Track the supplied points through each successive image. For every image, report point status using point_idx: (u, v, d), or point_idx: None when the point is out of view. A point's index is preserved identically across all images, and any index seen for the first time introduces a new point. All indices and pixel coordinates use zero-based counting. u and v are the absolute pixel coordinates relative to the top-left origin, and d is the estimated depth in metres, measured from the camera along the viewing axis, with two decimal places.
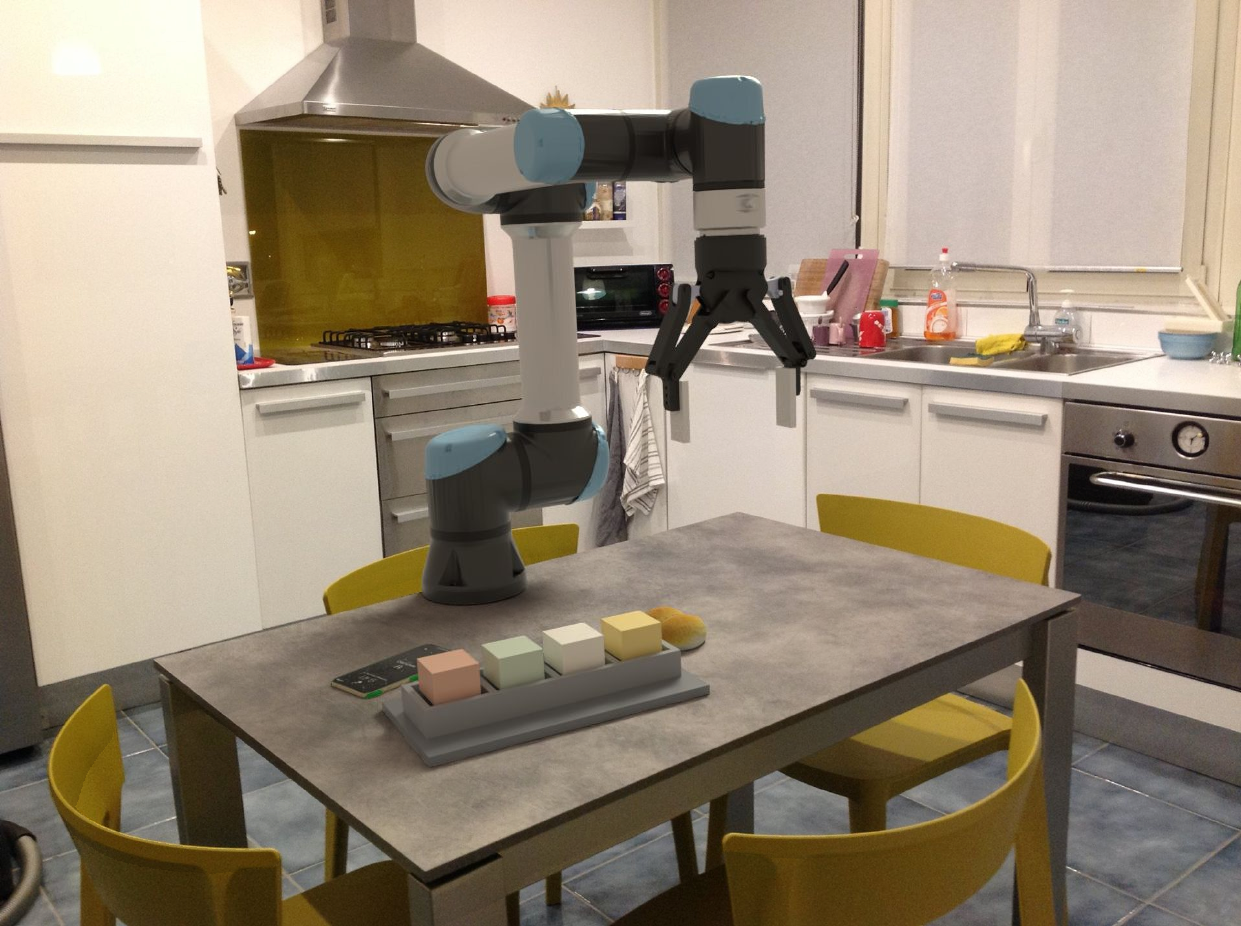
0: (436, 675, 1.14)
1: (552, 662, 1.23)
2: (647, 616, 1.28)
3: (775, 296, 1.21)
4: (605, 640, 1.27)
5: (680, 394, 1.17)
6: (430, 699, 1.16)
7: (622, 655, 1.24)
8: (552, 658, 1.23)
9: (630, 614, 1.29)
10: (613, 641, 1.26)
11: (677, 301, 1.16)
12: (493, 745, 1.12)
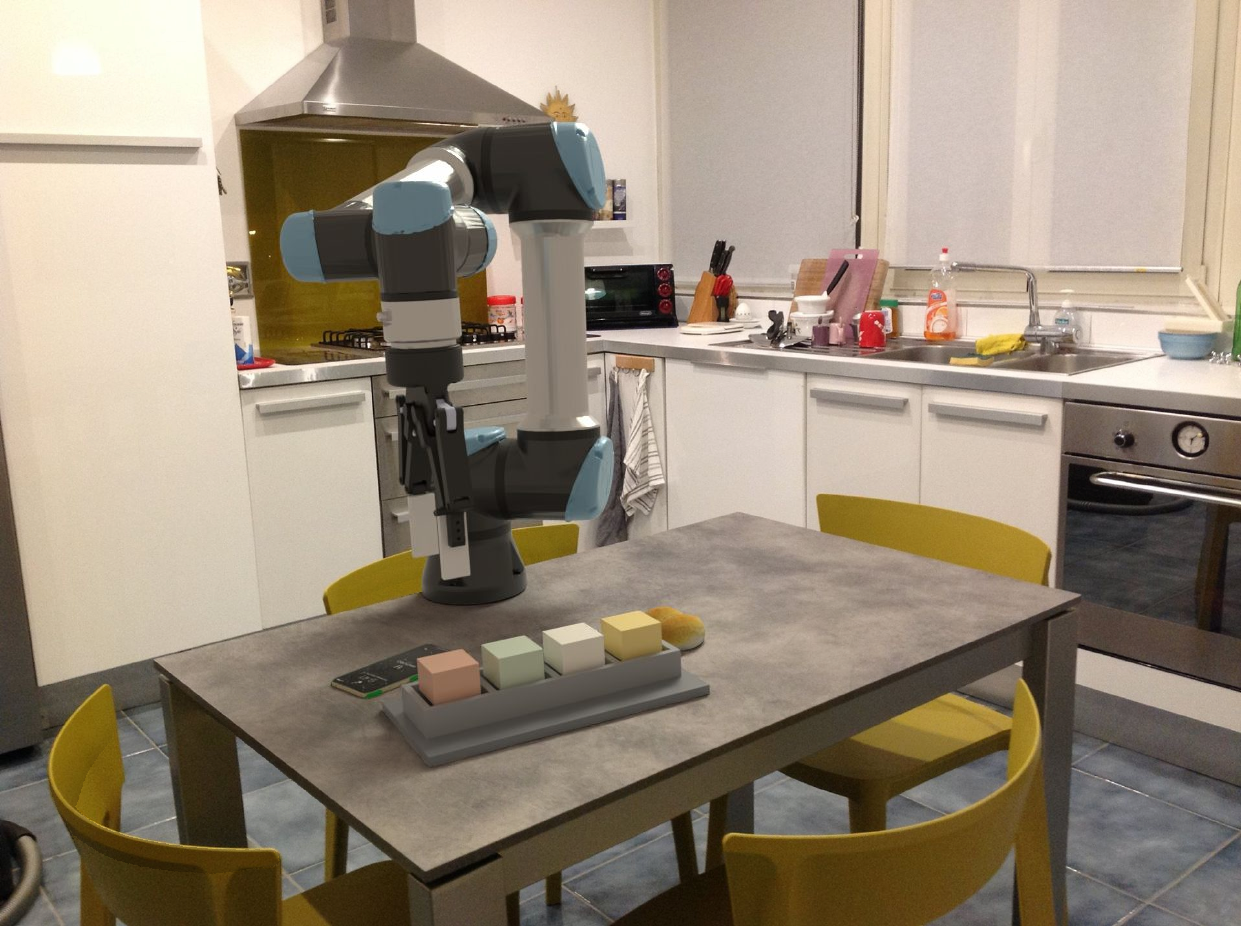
0: (436, 675, 1.14)
1: (552, 662, 1.23)
2: (647, 616, 1.28)
3: None
4: (605, 640, 1.27)
5: None
6: (430, 699, 1.16)
7: (622, 655, 1.24)
8: (552, 658, 1.23)
9: (630, 614, 1.29)
10: (613, 641, 1.26)
11: None
12: (493, 745, 1.12)
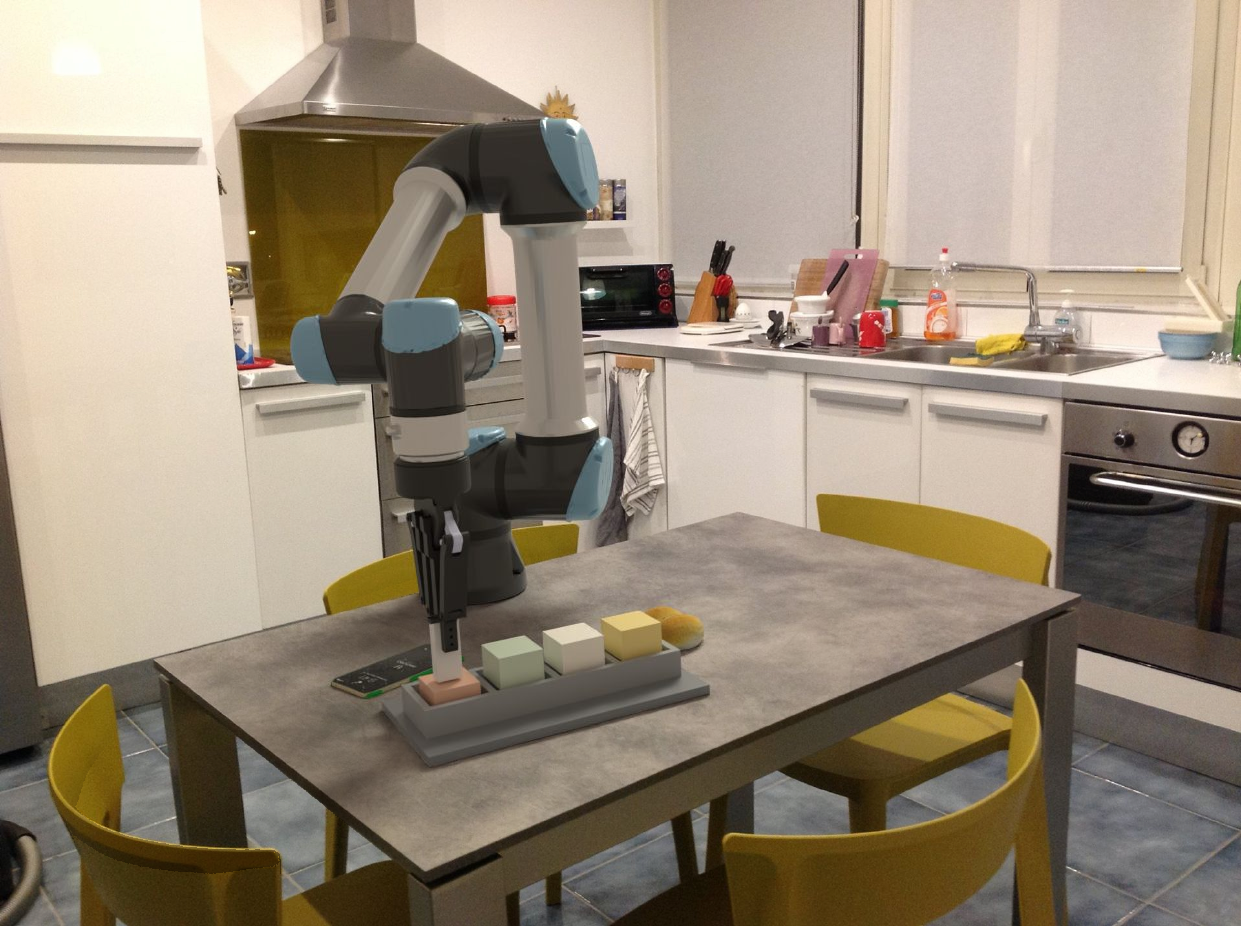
0: (437, 694, 1.14)
1: (552, 662, 1.23)
2: (647, 616, 1.28)
3: None
4: (605, 640, 1.27)
5: None
6: None
7: (622, 655, 1.24)
8: (552, 658, 1.23)
9: (630, 614, 1.29)
10: (613, 641, 1.26)
11: None
12: (493, 745, 1.12)
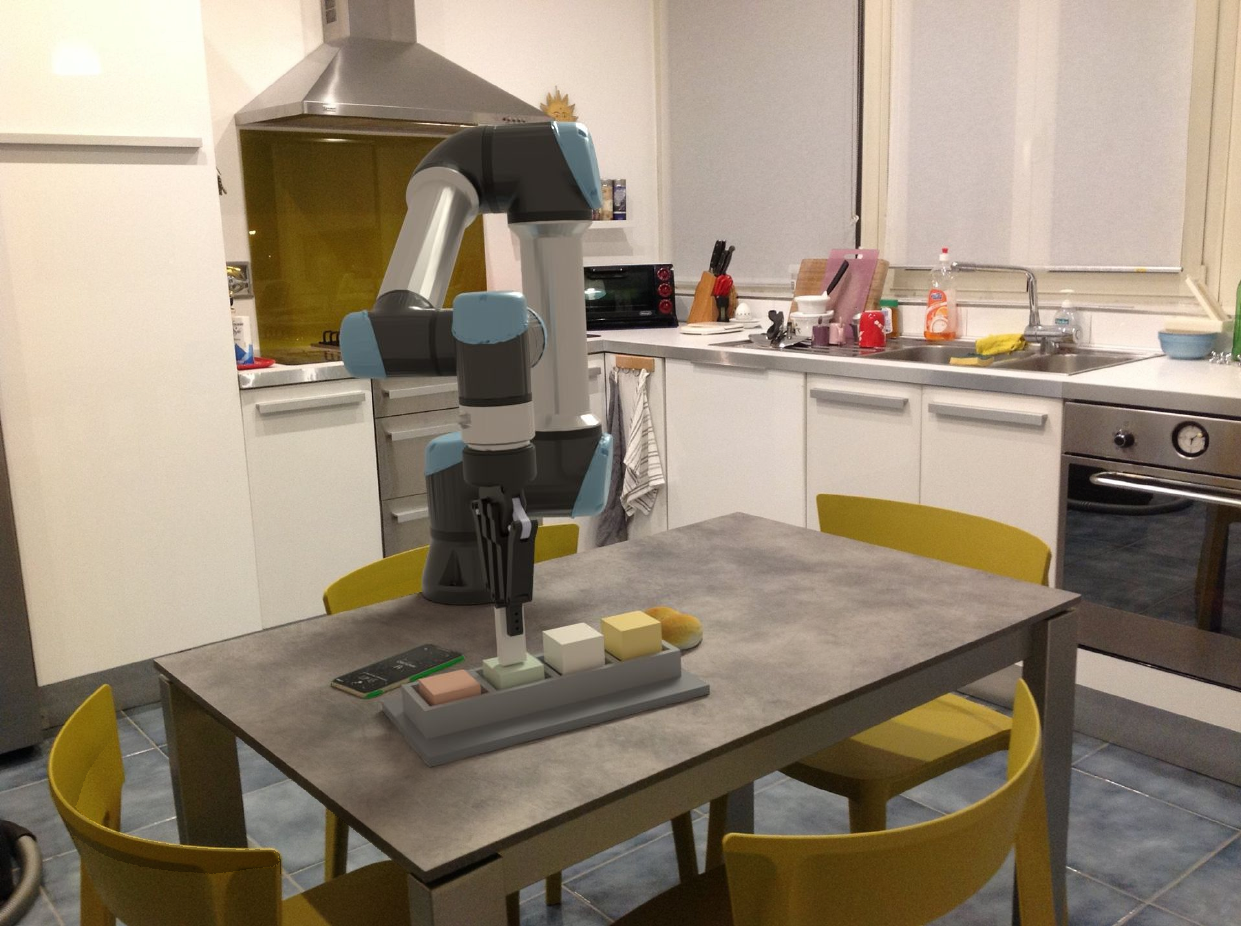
0: (437, 697, 1.14)
1: (552, 662, 1.23)
2: (647, 616, 1.28)
3: None
4: (605, 640, 1.27)
5: None
6: None
7: (622, 655, 1.24)
8: (552, 658, 1.23)
9: (630, 614, 1.29)
10: (613, 641, 1.26)
11: None
12: (493, 745, 1.12)
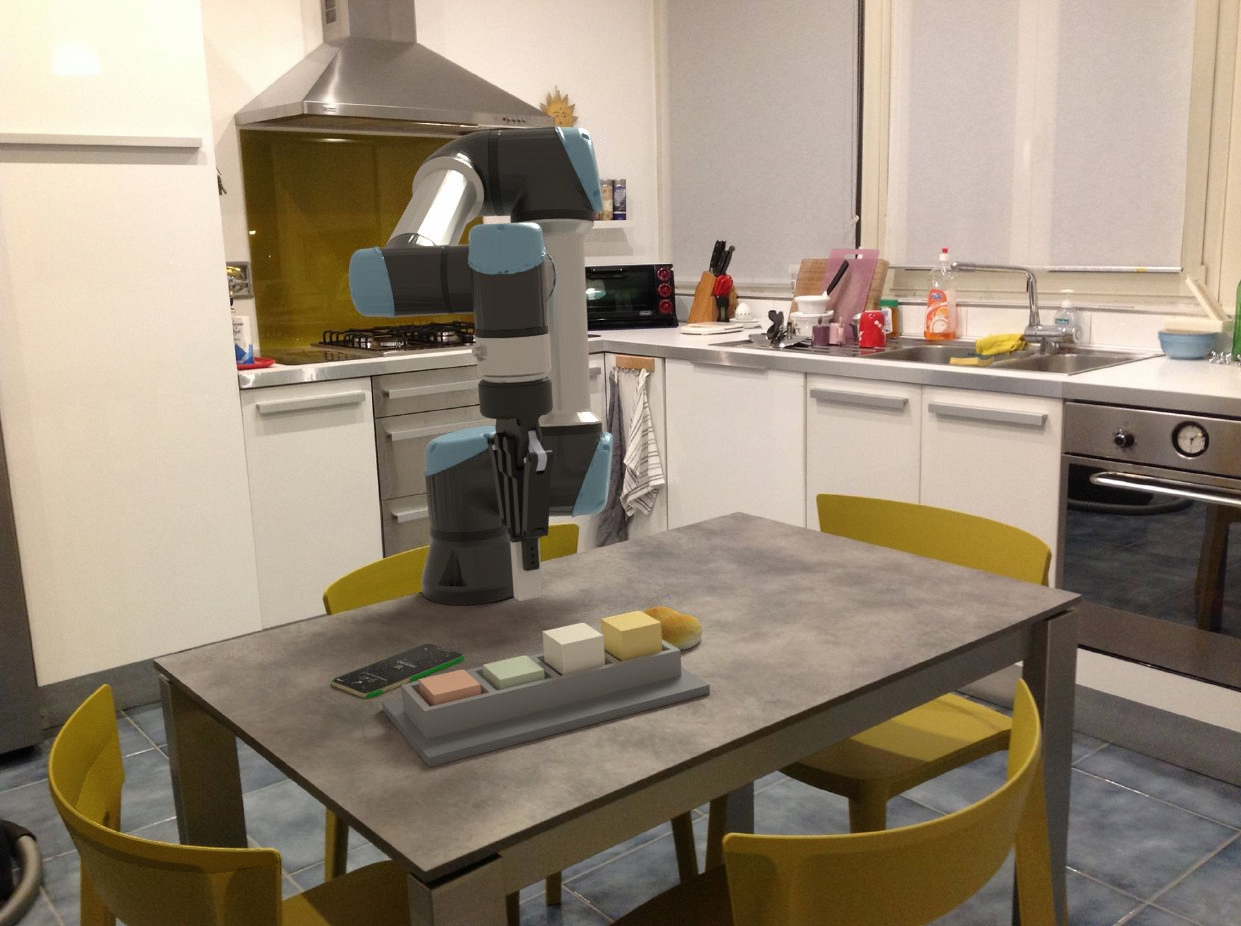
0: (437, 697, 1.14)
1: (552, 662, 1.23)
2: (647, 616, 1.28)
3: None
4: (605, 640, 1.27)
5: None
6: None
7: (622, 655, 1.24)
8: (552, 658, 1.23)
9: (630, 614, 1.29)
10: (613, 641, 1.26)
11: None
12: (493, 745, 1.12)
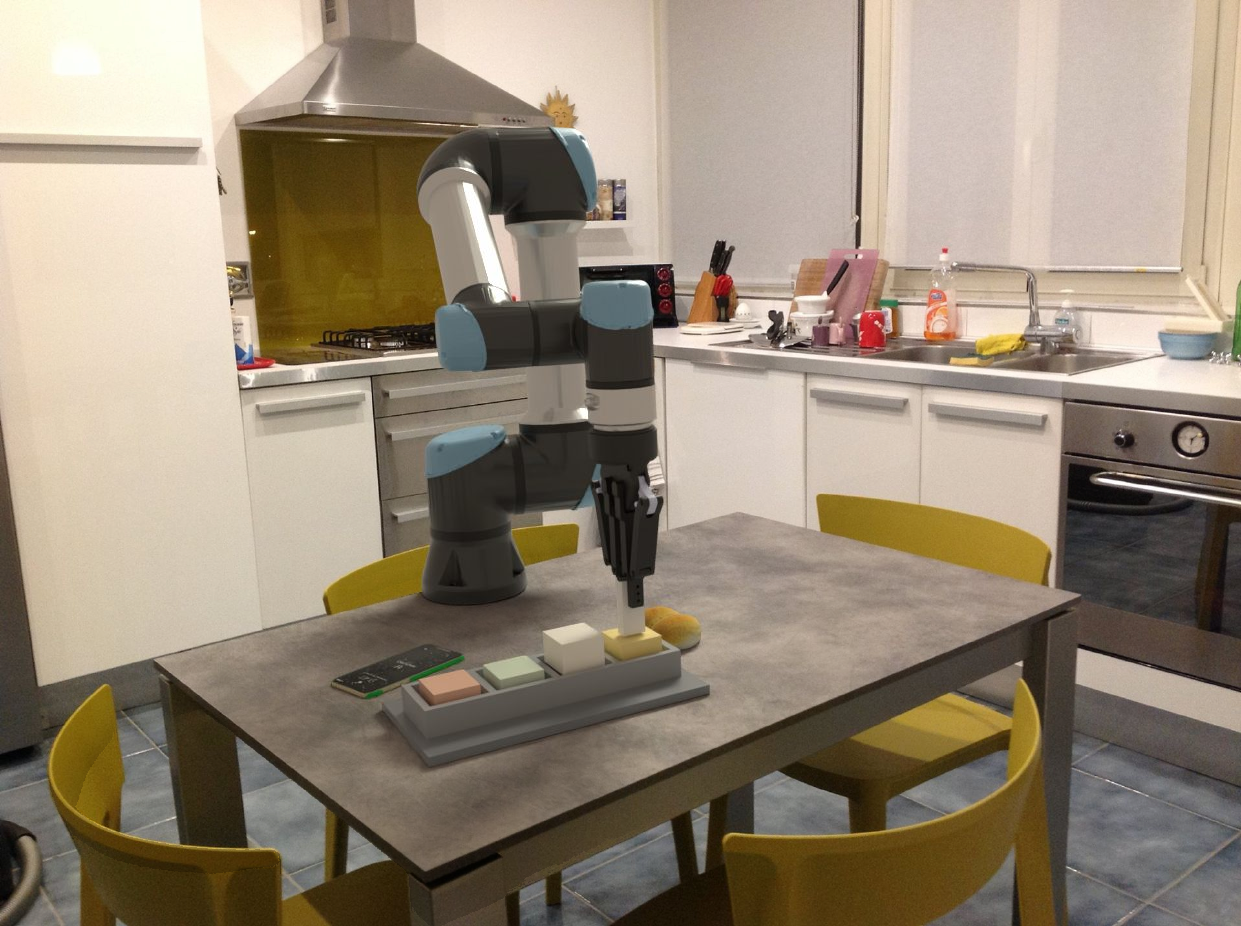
0: (437, 697, 1.14)
1: (552, 662, 1.23)
2: (648, 629, 1.28)
3: None
4: None
5: None
6: None
7: None
8: (552, 658, 1.23)
9: None
10: (614, 654, 1.26)
11: None
12: (493, 745, 1.12)
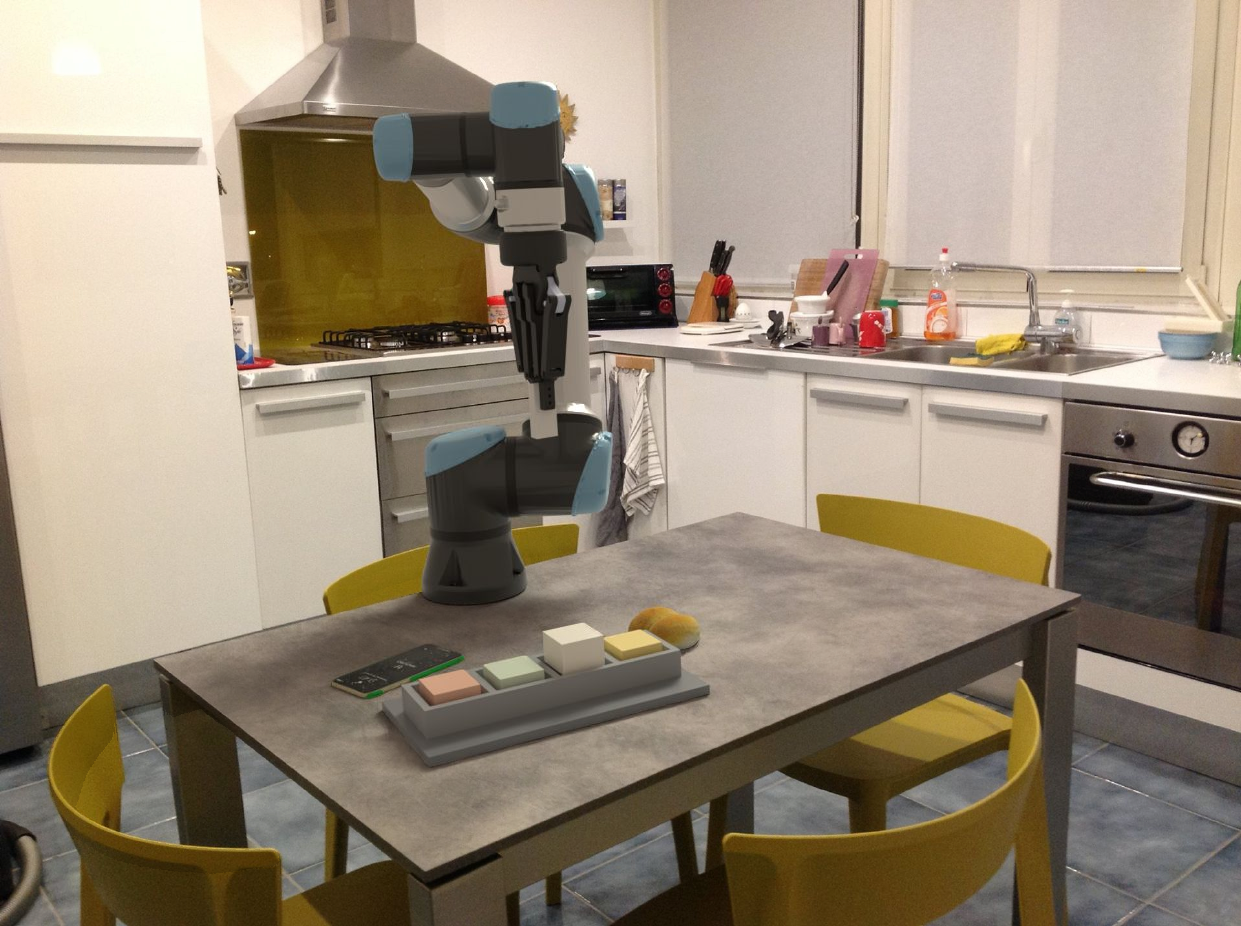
0: (437, 697, 1.14)
1: (552, 662, 1.23)
2: (648, 635, 1.28)
3: None
4: None
5: None
6: None
7: None
8: (552, 658, 1.23)
9: (631, 633, 1.29)
10: None
11: None
12: (493, 745, 1.12)
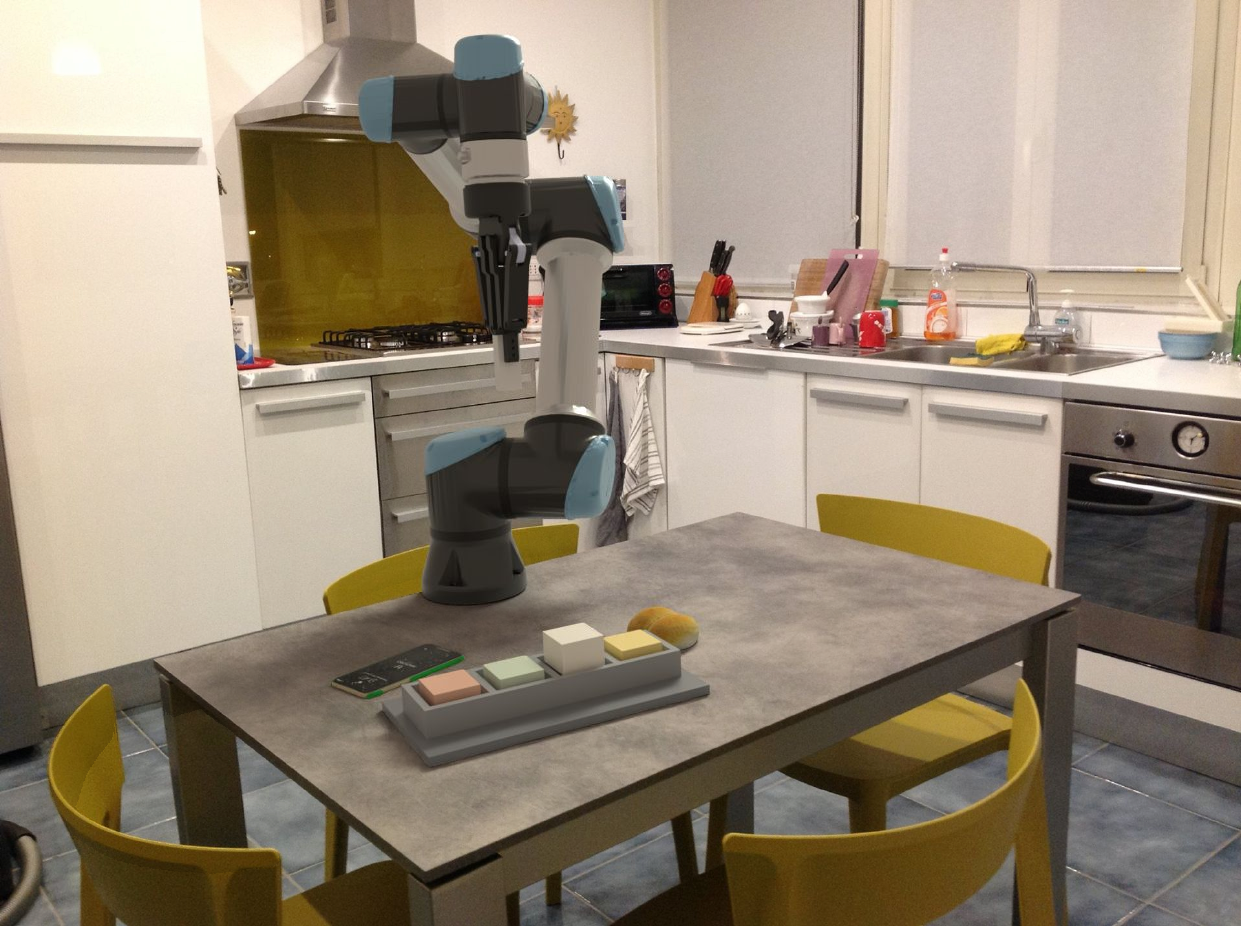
0: (437, 697, 1.14)
1: (552, 662, 1.23)
2: (648, 635, 1.28)
3: None
4: None
5: None
6: None
7: None
8: (552, 658, 1.23)
9: (631, 633, 1.29)
10: None
11: None
12: (493, 745, 1.12)
